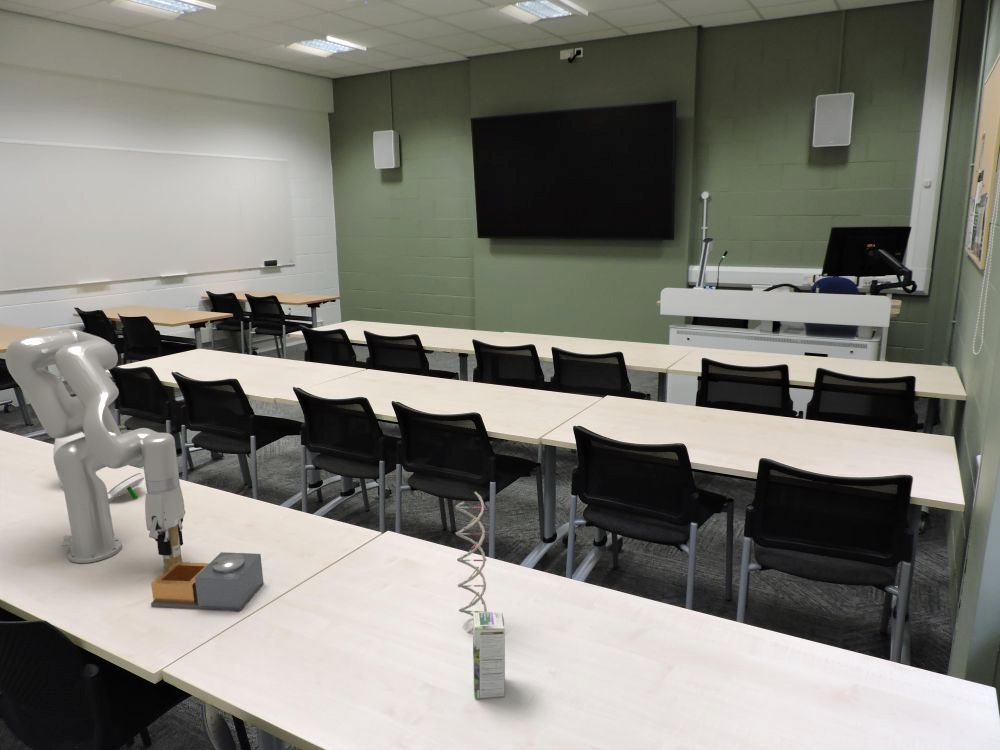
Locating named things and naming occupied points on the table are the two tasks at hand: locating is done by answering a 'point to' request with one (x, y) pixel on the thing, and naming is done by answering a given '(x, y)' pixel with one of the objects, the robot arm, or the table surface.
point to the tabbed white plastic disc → (126, 486)
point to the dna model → (474, 560)
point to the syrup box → (488, 654)
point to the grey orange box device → (210, 583)
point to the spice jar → (173, 546)
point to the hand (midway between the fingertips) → (171, 549)
